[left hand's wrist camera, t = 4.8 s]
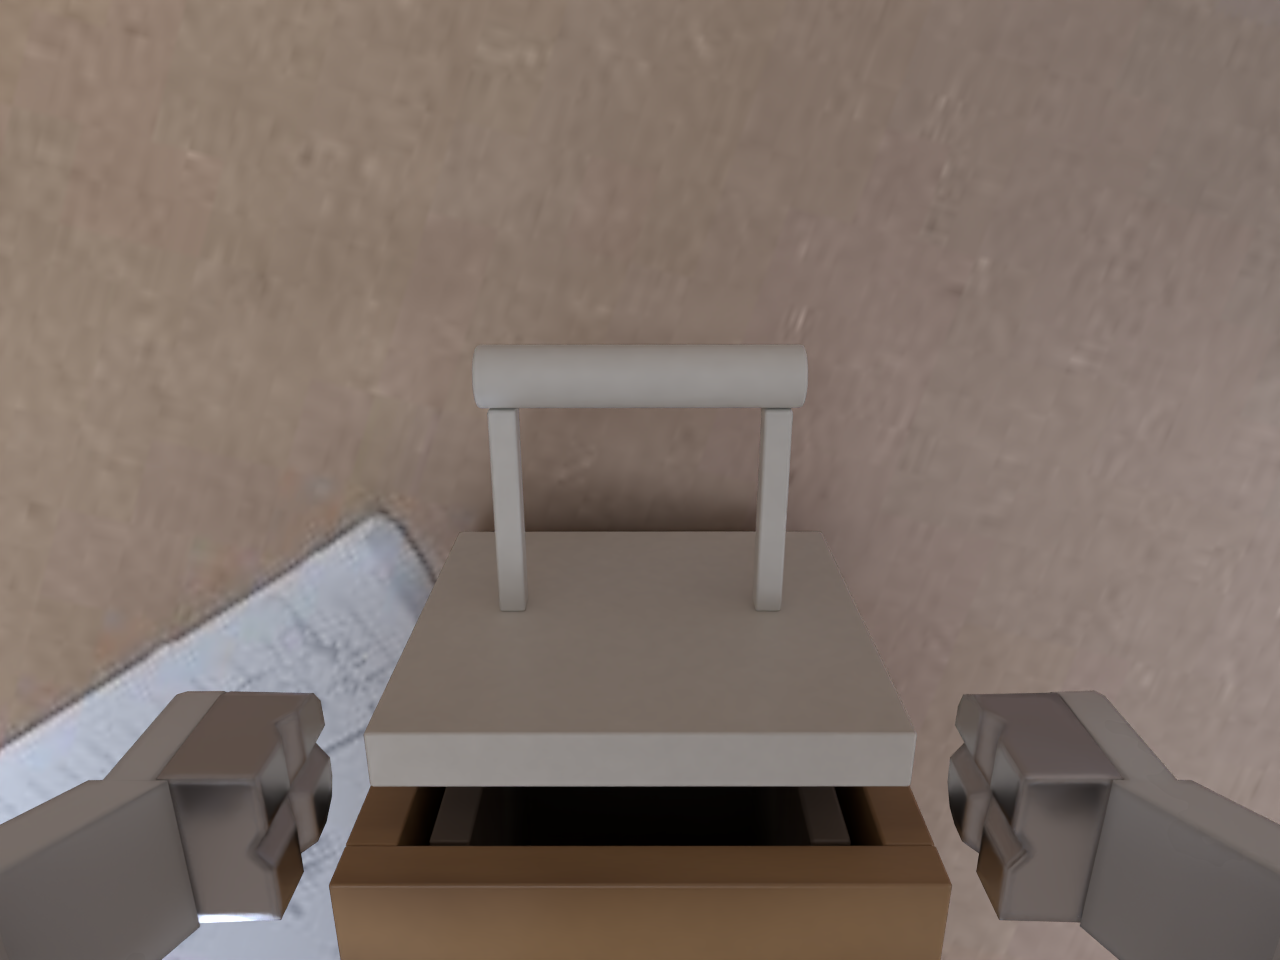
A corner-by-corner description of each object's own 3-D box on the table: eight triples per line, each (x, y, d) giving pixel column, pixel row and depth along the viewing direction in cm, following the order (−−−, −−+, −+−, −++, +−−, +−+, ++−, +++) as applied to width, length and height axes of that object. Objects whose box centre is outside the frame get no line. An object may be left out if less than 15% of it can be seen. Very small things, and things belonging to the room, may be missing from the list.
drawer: (441, 310, 22) (319, 408, 14) (838, 309, 22) (960, 407, 14) (494, 975, 30) (436, 1300, 22) (788, 975, 30) (845, 1300, 22)
